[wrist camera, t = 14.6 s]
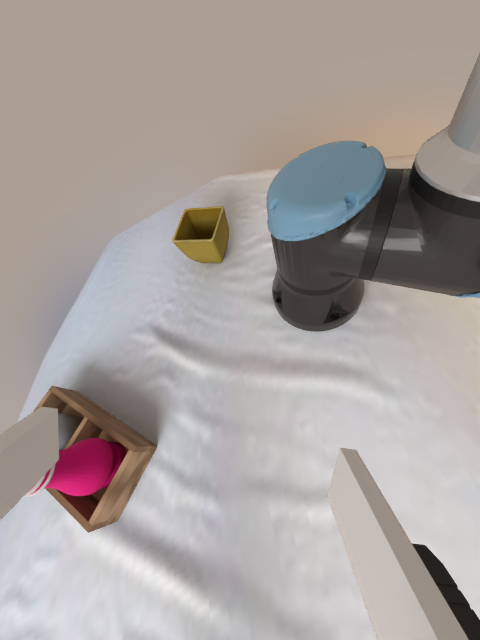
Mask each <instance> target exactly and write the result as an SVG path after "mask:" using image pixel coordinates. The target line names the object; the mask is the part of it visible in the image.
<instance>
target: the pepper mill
mask: <svg viewBox="0 0 480 640" xmlns="http://www.w3.org/2000/svg"><path fill="white" fill-rule="evenodd" d="M126 454H127V453H126V450H125V448H124V447H123V445H121V444H120V443H118V442H107V441H106V440H104V439H101V438H89V439H85V440H82V441H80V442H77V443H76V444H74V445H72V446H70V447H68V448H66V449H64V450H59V460H58V461H57V462H56V463H55V464H54V465H53V466H52V467H51V468H50V469H49V470H48V471H47V472H46V473H45V475H44V476H43V477H42V478H41V479H40V480H39V481H38V482H37V483H36V484H35V485H34V486H33V487H32V488H31V489H30V490H29V491H28V492H27V493H26V494H25V495H24V496H23V497H26V496H33V495H36V494H38V493H39V492H40V491H42V490H43V489H45V488H54V489H57V490H60V491H62V492H64V493H66V494H68V495H73V496H86V495H90V494H92V493H94V492H96V491H98V490H99V489H100V488H105V487H108V486H109V485H110V483H111V481H112V479H113V477H114V476H115V474H116V472H117V470H118V469H119V467H120V465H121V463H122V462H123V460H124V458H125V456H126ZM23 497H22V498H23Z"/></svg>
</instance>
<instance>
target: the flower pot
mask: <svg viewBox="0 0 480 640" xmlns="http://www.w3.org/2000/svg"><path fill="white" fill-rule="evenodd" d="M228 237H229V228H228V223H227V218H226V214H225V210H224V207H223V206H217V207H207V208H190V209H185V210H184V212H183V215H182V217H181V220H180V222H179V225H178V227H177V230H176V232H175V235H174V237H173V240H172V242H173V243H174V244H175V245H176V246H177V247H178V248H179V249H180V250H181V251H182V252H183V253H184V254H185V255H186V256H187V257H189V258H190V259H192V260H194V261H197V262H201V263H221V262H222V261H223V257H224V254H225V250H226V247H227V243H228Z"/></svg>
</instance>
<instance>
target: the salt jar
mask: <svg viewBox="0 0 480 640" xmlns="http://www.w3.org/2000/svg"><path fill="white" fill-rule="evenodd" d="M82 420H83V418H82V417H80V416H74V415H66V414H58V438H59V450H64V448H65V447H66V445H67V444H68V442H69V441H70V439H71V437H72V436H73V434H74V433H75V431H76V430H77V428H78V427H79V425H80V423H81V422H82Z"/></svg>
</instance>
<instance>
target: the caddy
mask: <svg viewBox="0 0 480 640" xmlns="http://www.w3.org/2000/svg"><path fill="white" fill-rule="evenodd" d="M40 407H48V408H56V409H58V414H66V415H74V416H80V417H82V418H83V420H82V422H81V423H80V425H79V427H78V428H77V430H76V431H75V433H74V434H73V436H72V437H71V439H70V441H69V442H68V444H67V445H66V447H65V448H64V449H66V448H68V447H70V446H72V445H74V444H76V443H77V442H80V441H82V440H85V439H89V438H101V439H104V440H106V441H107V442H118V443H120V444H121V445H123V447H124V448H125V450H126V453H127V454H126V456H125V458H124V460H123V462H122V463H121V465H120V467H119V469H118V470H117V472H116V474H115V476H114V477H113V479H112V481H111V483H110V485H109V486H108V487H105V488H100V489H99V490H98V491H96V492H94V493H92V494H90V495H86V496H73V495H68V494H66V493H64V492H62V491H60V490H57V489H54V488H45V489H46V490H47V491H48V492H49V493H50V494H51V495H52V496H53V497H54V498H55V499H56V500H57V501H58V502H59V503H60V504H61V505H62V506H63V507H64V508H65V509H66V510H67V511H68V512H69V513H70V514H71V515H72V516H73V517H74V518H75V519H76V520H77V521H78V522H79V523H80V524H81V526H82V527H83V528H84V529H85V530H86V531H87V532H88V533H89V532H91V531H94V530H96V529H99V528H102V527H104V526H107V525H109V524H112V523H114V522H117V521H118V519H119V517H120V515H121V514H122V512H123V510H124V508H125V506H126V504H127V502H128V500H129V498H130V497H131V495H132V493H133V491H134V489H135V487H136V485H137V483H138V482H139V480H140V478H141V476H142V474H143V472H144V470H145V468H146V467H147V465H148V463H149V461H150V459H151V457H152V455H153V453H154V452H155V450H156V448H157V446H156V445H154V444H153V443H151V442H150V441H149V440H147V439H146V438H144V437H143V436H141V435H140V434H138V433H137V432H135V431H134V430H133V429H131V428H130V427H128V426H127V425H125V424H124V423H122V422H121V421H119V420H118V419H116V418H115V417H114V416H112V415H111V414H109V413H108V412H106V411H105V410H103V409H102V408H100V407H99V406H98V405H96V404H95V403H93V402H92V401H90V400H89V399H87V398H86V397H84V396H83V395H81V394H80V393H79V392H77V391H72V390H68V389H64V388H59V387H55V386H51V388H50V389H49V390H48V392H47V393H46V395H45V396H44V397H43V399H42V400H41V402H40V403H39V404H38V406H37V407H36V409H35V410H37V409H38V408H40ZM35 410H34V411H35ZM34 411H33V412H34Z"/></svg>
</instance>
